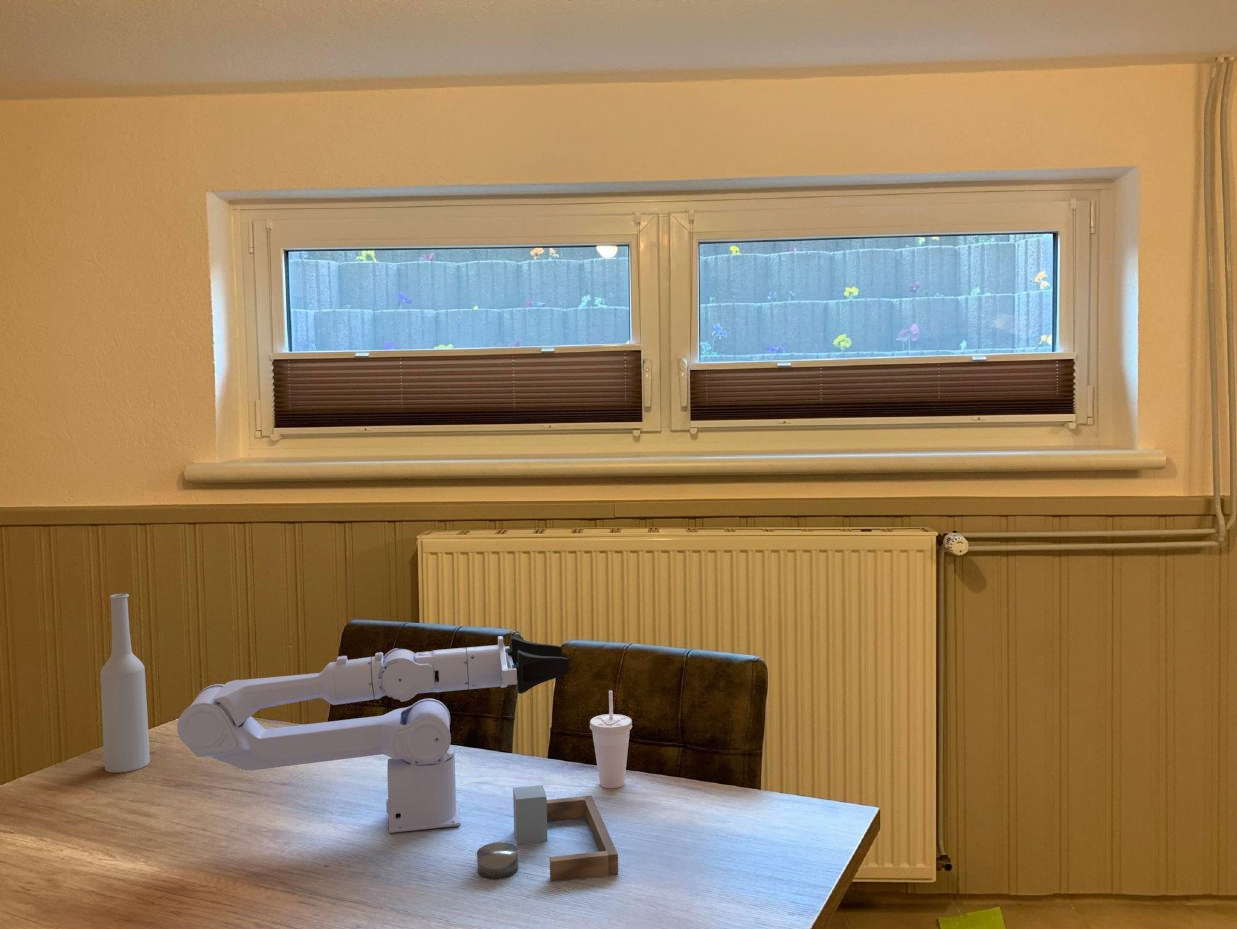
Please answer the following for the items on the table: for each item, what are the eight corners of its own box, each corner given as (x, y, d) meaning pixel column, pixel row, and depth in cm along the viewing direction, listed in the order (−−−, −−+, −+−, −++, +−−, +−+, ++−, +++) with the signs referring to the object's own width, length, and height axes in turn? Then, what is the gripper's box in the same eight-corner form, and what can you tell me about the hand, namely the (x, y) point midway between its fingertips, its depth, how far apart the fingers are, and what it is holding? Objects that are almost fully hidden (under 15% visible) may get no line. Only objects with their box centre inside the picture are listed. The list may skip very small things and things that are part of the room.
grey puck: (478, 882, 118) (478, 862, 117) (476, 864, 122) (475, 844, 122) (520, 878, 119) (519, 858, 118) (516, 859, 123) (515, 840, 123)
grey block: (517, 844, 127) (515, 799, 127) (514, 831, 131) (513, 787, 131) (547, 841, 128) (546, 796, 128) (543, 828, 132) (542, 785, 132)
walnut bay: (551, 881, 117) (550, 861, 117) (533, 818, 135) (533, 801, 135) (618, 874, 119) (617, 854, 119) (592, 812, 137) (591, 795, 137)
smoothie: (635, 775, 150) (633, 686, 149) (631, 792, 144) (629, 698, 143) (593, 775, 151) (591, 685, 150) (588, 791, 144) (586, 698, 144)
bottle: (150, 755, 163) (142, 589, 161) (149, 768, 157) (140, 596, 155) (106, 762, 160) (97, 593, 159) (103, 775, 154) (93, 600, 153)
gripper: (467, 651, 128) (569, 642, 131) (464, 629, 143) (557, 621, 145) (470, 704, 129) (572, 694, 131) (467, 677, 143) (559, 668, 145)
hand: (564, 659), depth 138 cm, fingers open, 7 cm apart
